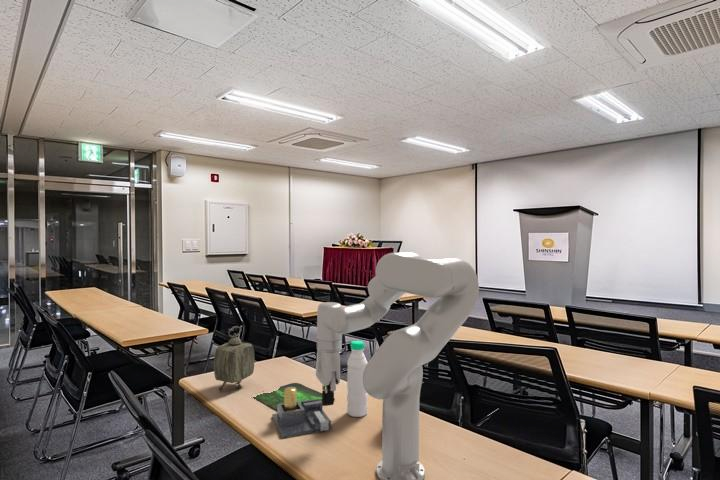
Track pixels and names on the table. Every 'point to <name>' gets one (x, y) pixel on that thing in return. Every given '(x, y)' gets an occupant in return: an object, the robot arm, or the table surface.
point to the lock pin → (321, 421)
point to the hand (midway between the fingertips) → (327, 404)
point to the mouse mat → (278, 395)
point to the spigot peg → (289, 399)
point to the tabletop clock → (233, 361)
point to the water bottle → (356, 381)
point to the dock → (299, 418)
